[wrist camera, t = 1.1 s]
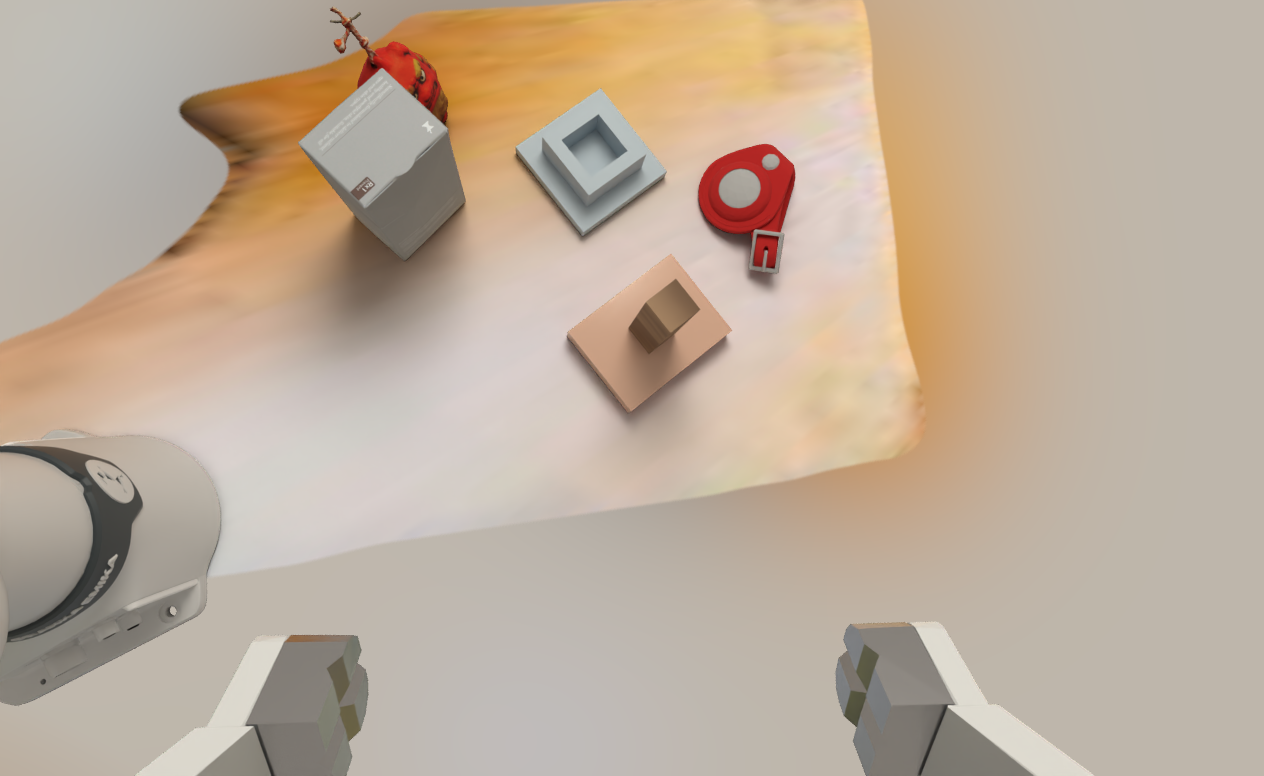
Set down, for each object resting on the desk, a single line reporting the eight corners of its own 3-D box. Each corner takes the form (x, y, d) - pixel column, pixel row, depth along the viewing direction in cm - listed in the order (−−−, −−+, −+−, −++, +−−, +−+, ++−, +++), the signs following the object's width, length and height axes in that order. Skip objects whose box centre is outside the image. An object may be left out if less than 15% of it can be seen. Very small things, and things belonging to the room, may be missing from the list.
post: (649, 354, 62) (670, 332, 52) (628, 328, 62) (645, 301, 52) (674, 334, 63) (700, 309, 53) (653, 308, 63) (675, 278, 53)
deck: (628, 413, 63) (631, 411, 61) (566, 336, 63) (568, 331, 61) (726, 334, 65) (732, 330, 63) (666, 260, 65) (671, 253, 64)
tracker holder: (675, 190, 66) (754, 115, 65) (681, 207, 70) (755, 138, 69) (764, 278, 63) (847, 201, 62) (765, 291, 67) (843, 219, 66)
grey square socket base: (582, 236, 65) (585, 221, 61) (515, 152, 65) (514, 132, 61) (664, 176, 66) (672, 158, 62) (599, 95, 66) (603, 71, 62)
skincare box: (417, 154, 63) (378, 52, 48) (474, 208, 64) (454, 124, 48) (348, 217, 62) (285, 133, 46) (407, 272, 62) (364, 207, 46)
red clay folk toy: (436, 168, 63) (406, 77, 49) (358, 146, 63) (304, 48, 48) (457, 92, 65) (434, -18, 50) (382, 71, 64) (335, -49, 49)
